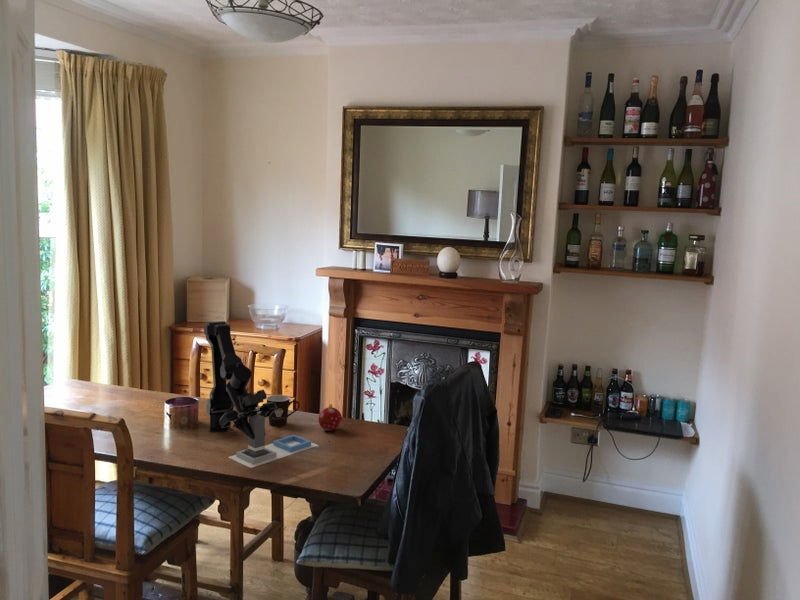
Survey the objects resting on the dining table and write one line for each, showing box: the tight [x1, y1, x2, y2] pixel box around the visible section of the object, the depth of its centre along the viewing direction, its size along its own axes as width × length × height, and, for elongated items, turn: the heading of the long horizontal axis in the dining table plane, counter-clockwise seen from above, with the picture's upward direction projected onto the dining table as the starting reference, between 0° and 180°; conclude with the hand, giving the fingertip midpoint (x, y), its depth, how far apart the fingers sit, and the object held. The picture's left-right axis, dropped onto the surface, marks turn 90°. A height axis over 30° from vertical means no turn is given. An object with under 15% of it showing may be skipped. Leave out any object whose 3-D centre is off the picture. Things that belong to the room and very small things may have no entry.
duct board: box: [228, 434, 320, 469], centre depth 207 cm, size 28×12×2 cm, turn 140°
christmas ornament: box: [318, 403, 343, 432], centre depth 231 cm, size 9×9×10 cm
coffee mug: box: [266, 394, 300, 428], centre depth 236 cm, size 12×9×10 cm
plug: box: [244, 414, 268, 458], centre depth 200 cm, size 5×5×13 cm
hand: (259, 437), depth 199 cm, fingers closed on plug, 4 cm apart
